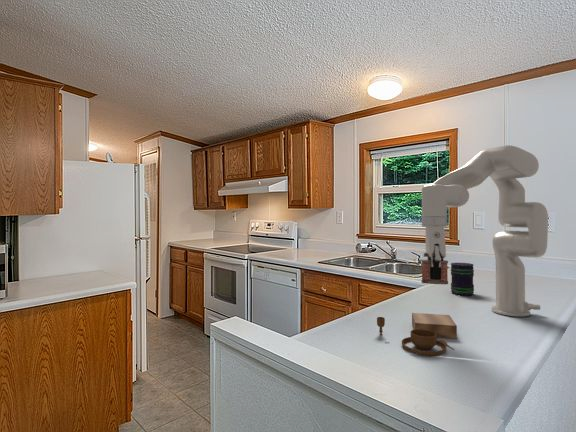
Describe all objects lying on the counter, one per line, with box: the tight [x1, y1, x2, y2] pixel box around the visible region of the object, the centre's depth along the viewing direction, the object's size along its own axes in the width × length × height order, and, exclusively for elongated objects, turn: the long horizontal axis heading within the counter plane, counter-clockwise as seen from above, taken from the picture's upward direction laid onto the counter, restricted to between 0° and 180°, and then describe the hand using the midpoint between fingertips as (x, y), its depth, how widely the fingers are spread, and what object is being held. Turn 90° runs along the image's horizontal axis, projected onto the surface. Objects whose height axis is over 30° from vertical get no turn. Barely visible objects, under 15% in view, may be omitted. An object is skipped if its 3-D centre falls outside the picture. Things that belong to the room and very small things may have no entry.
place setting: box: [376, 316, 456, 357], centre depth 103 cm, size 18×20×6 cm
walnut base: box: [411, 312, 458, 340], centre depth 113 cm, size 12×12×4 cm
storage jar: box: [450, 262, 475, 297], centre depth 165 cm, size 10×10×15 cm
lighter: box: [420, 252, 449, 285], centre depth 113 cm, size 8×3×10 cm, turn 71°
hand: (434, 277), depth 113 cm, fingers closed on lighter, 3 cm apart
